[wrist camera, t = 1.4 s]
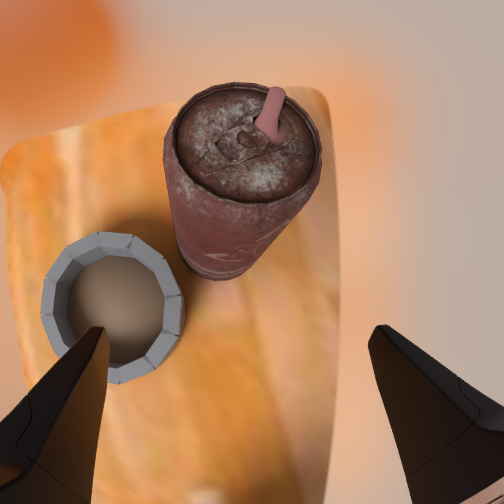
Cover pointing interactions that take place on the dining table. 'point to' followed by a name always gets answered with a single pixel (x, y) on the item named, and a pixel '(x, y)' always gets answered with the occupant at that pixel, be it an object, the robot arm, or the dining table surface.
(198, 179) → the can
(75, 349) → the robot arm
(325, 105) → the dining table surface
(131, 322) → the segmented gray ring
